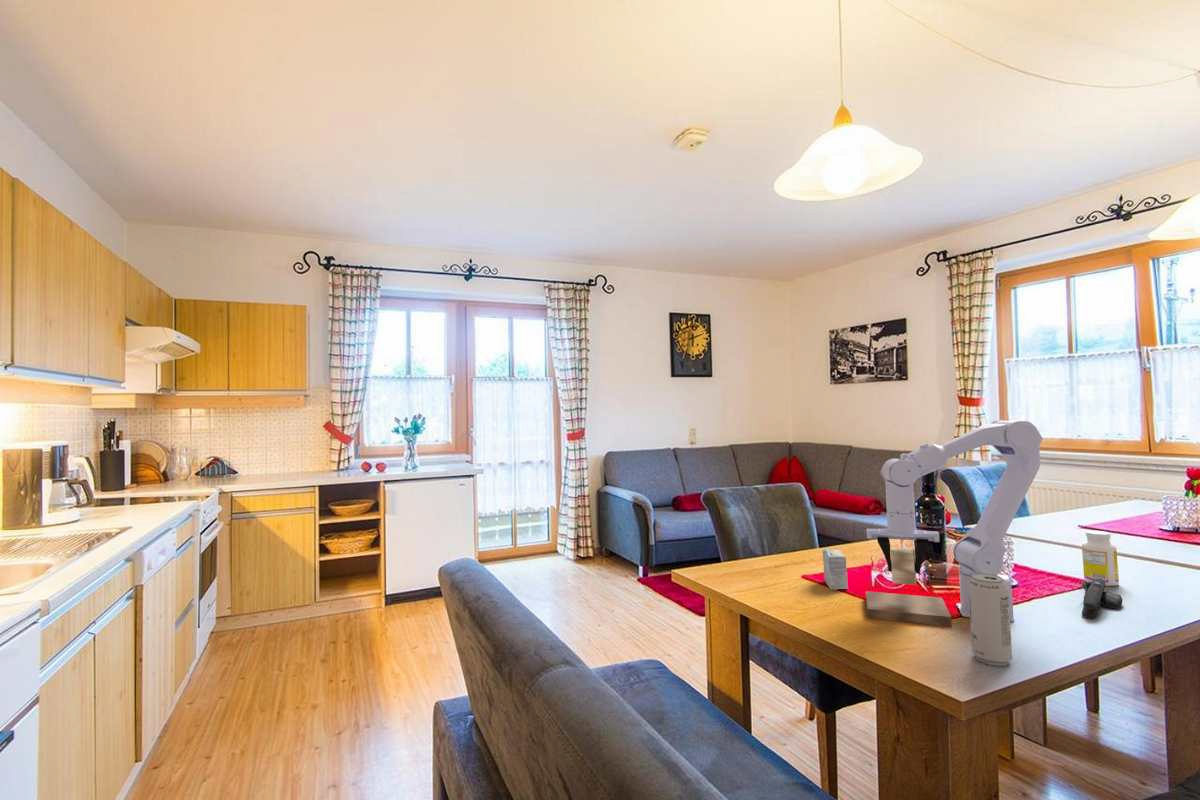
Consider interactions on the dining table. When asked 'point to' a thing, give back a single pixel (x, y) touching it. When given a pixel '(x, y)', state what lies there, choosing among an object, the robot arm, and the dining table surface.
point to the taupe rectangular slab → (908, 608)
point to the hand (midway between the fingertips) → (903, 571)
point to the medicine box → (835, 569)
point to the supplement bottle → (1100, 558)
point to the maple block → (903, 566)
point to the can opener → (1098, 598)
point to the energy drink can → (990, 619)
